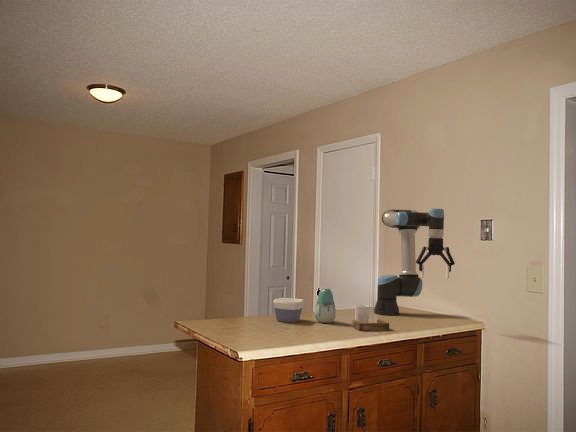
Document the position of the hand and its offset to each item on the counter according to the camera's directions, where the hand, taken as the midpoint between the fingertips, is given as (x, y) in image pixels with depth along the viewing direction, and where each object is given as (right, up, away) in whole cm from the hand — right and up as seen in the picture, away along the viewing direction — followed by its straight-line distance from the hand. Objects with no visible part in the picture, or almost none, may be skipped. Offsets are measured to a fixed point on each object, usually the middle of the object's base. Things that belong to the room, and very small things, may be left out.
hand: (434, 277), depth 258 cm
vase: (-58, -25, +5) cm, 63 cm away
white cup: (-38, -25, +2) cm, 46 cm away
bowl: (-78, -24, +6) cm, 82 cm away
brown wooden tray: (-36, -25, -9) cm, 44 cm away
